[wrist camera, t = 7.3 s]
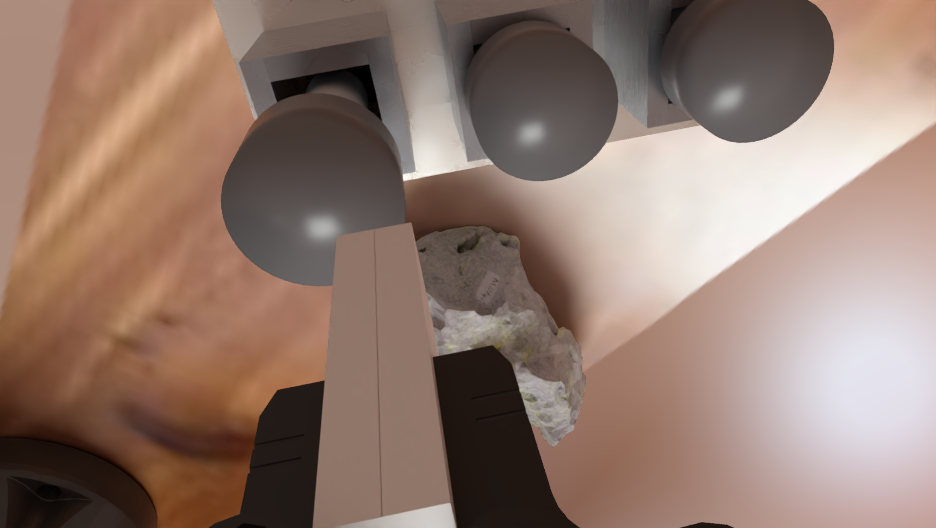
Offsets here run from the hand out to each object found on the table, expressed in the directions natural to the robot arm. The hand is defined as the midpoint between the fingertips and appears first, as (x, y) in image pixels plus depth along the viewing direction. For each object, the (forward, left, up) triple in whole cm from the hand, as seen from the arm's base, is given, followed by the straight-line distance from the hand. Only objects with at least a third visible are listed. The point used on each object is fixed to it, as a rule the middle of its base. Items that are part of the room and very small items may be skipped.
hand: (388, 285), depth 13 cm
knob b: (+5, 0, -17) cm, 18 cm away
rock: (+3, -14, -18) cm, 23 cm away
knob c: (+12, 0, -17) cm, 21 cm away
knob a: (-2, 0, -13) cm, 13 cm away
